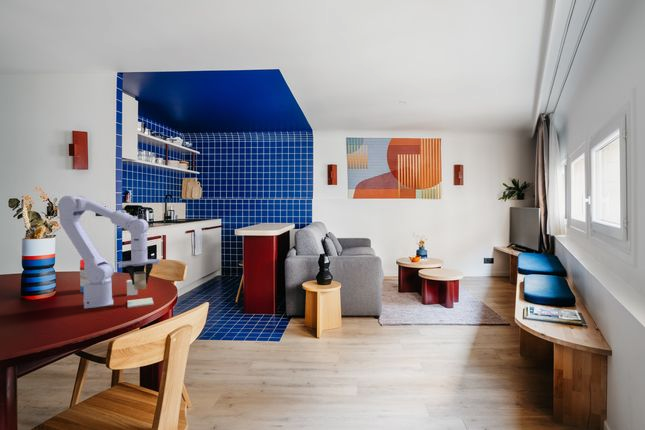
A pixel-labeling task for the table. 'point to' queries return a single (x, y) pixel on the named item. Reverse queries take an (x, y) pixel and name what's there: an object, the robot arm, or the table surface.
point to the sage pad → (140, 302)
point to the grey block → (131, 288)
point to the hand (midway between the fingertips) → (140, 283)
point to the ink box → (82, 276)
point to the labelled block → (139, 280)
